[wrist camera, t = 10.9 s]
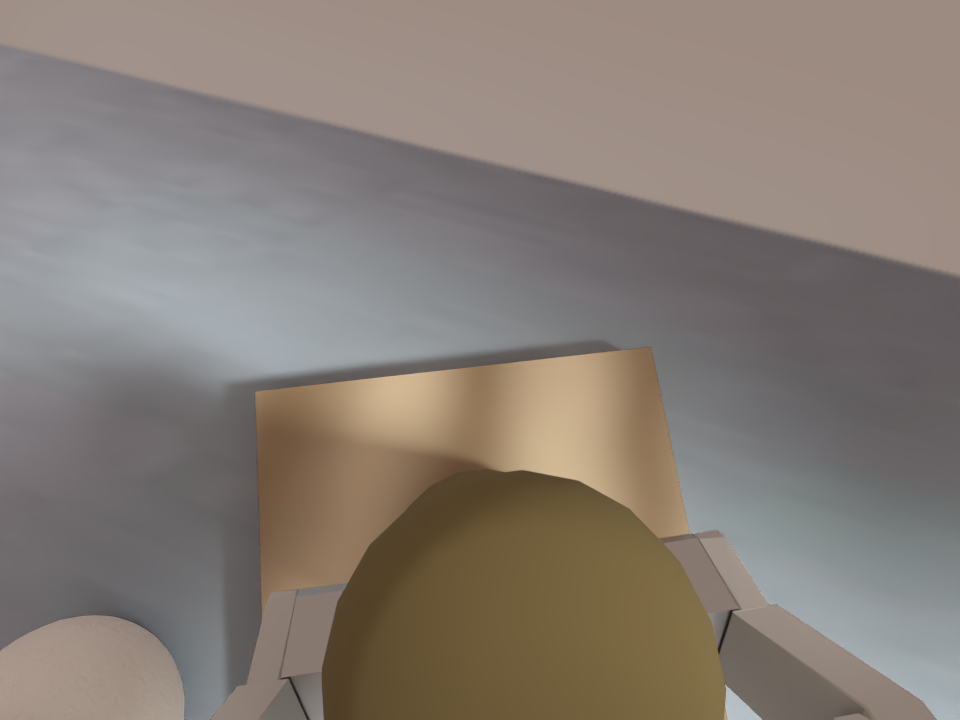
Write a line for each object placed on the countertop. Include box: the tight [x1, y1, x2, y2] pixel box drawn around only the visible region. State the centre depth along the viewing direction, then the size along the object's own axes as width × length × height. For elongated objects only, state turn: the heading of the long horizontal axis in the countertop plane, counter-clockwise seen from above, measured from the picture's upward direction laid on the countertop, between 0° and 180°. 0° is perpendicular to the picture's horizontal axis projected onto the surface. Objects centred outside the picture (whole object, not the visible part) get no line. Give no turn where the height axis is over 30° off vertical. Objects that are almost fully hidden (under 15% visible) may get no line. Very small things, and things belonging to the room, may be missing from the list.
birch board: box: [255, 347, 727, 720], centre depth 18 cm, size 14×13×2 cm
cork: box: [322, 469, 726, 720], centre depth 11 cm, size 6×6×11 cm
